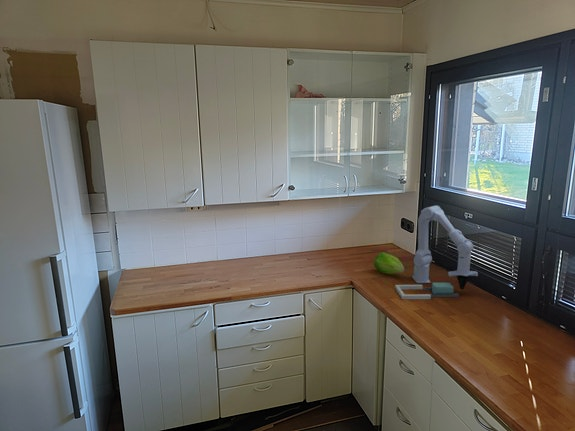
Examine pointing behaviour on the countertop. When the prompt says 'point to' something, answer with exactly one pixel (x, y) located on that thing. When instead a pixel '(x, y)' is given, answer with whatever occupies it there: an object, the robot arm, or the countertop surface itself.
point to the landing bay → (415, 296)
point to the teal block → (442, 288)
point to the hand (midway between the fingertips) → (461, 288)
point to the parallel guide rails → (441, 293)
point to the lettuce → (388, 264)
